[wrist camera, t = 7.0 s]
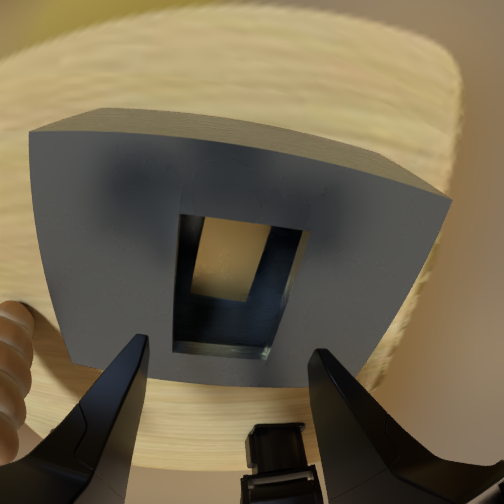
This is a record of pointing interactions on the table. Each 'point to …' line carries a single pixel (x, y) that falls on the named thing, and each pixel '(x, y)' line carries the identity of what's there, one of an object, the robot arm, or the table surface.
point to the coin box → (230, 208)
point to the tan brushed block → (227, 258)
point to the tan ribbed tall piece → (14, 374)
